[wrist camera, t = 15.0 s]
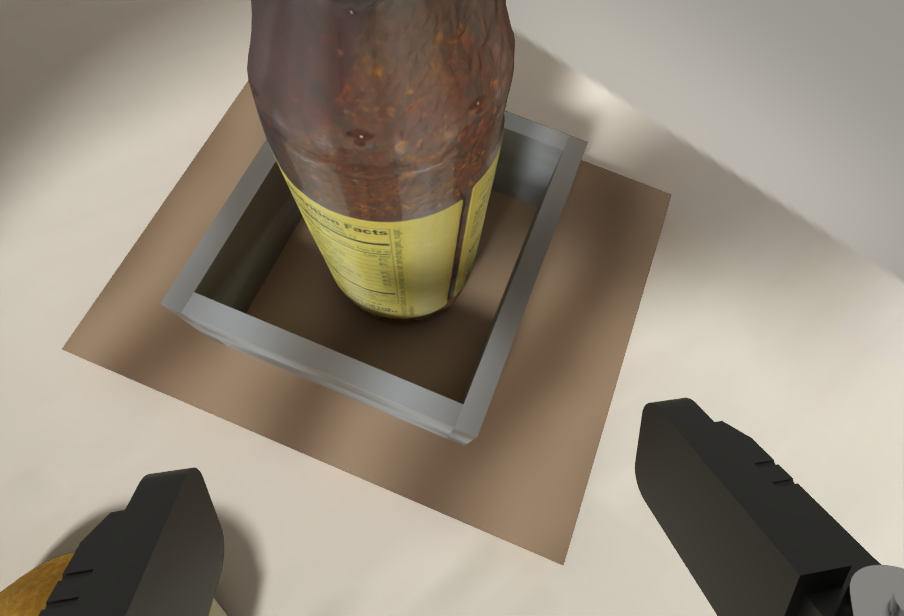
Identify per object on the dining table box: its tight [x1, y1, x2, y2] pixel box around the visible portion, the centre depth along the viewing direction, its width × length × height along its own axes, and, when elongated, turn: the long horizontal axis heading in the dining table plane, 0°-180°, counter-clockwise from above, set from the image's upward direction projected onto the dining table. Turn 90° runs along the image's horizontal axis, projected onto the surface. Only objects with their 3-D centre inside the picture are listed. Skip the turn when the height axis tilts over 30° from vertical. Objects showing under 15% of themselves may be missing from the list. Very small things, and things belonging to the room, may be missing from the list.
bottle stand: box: [62, 80, 671, 565], centre depth 22 cm, size 22×18×6 cm
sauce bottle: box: [247, 0, 515, 324], centre depth 14 cm, size 6×6×20 cm
